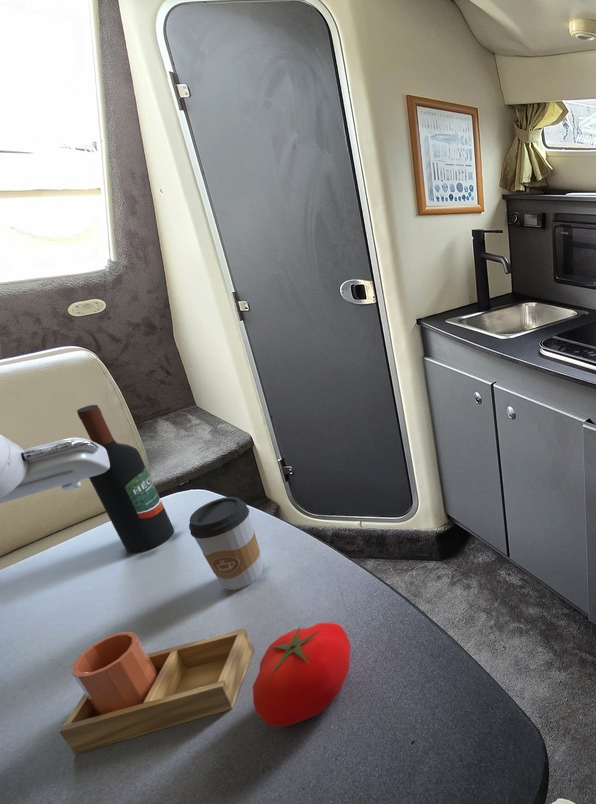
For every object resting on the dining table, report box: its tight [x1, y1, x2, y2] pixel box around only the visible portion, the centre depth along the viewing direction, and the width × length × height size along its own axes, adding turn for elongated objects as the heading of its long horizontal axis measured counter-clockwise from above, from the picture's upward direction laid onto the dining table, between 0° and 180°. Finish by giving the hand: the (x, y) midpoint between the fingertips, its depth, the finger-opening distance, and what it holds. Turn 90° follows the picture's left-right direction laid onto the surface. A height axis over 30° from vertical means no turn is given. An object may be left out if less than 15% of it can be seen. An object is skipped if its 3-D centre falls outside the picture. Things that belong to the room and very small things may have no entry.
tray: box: [58, 628, 255, 755], centre depth 68 cm, size 9×18×5 cm, turn 107°
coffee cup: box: [188, 496, 264, 591], centre depth 87 cm, size 8×8×15 cm
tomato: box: [252, 622, 352, 728], centre depth 67 cm, size 11×13×10 cm
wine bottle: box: [76, 404, 175, 554], centre depth 94 cm, size 8×8×30 cm
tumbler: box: [71, 631, 158, 716], centre depth 66 cm, size 6×6×10 cm
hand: (26, 497), depth 69 cm, fingers open, 8 cm apart
